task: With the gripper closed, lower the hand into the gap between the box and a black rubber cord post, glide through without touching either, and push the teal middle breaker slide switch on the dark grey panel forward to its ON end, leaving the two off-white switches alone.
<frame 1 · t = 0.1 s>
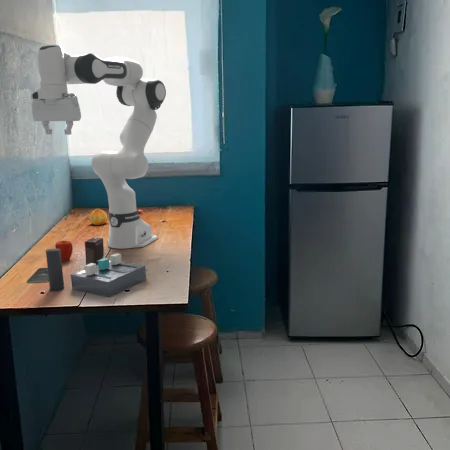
hand: (58, 134, 187), 48 cm above the table, fingers open, 8 cm apart
smartphone: (43, 276, 188), on the table
box: (96, 273, 189), on the table
cord post: (57, 288, 174), on the table
panel: (109, 284, 176), on the table
slider 2: (115, 259, 181), point 7 cm above the table, slide at 0.0 cm
fruit: (99, 224, 263), on the table
slider mid: (103, 264, 176), point 7 cm above the table, slide at 0.0 cm
slider 1: (90, 269, 171), point 7 cm above the table, slide at 0.0 cm
apple: (65, 260, 205), on the table
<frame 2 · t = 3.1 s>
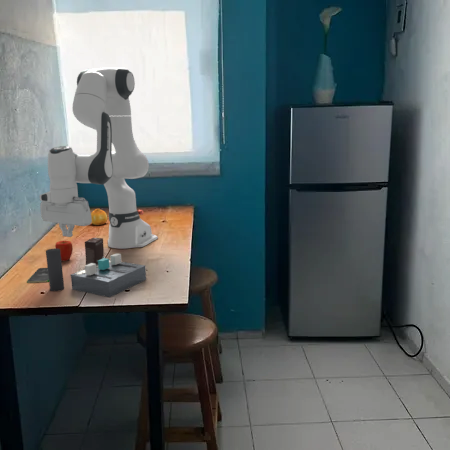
hand: (67, 236, 181), 15 cm above the table, fingers closed
nothing on the table moved.
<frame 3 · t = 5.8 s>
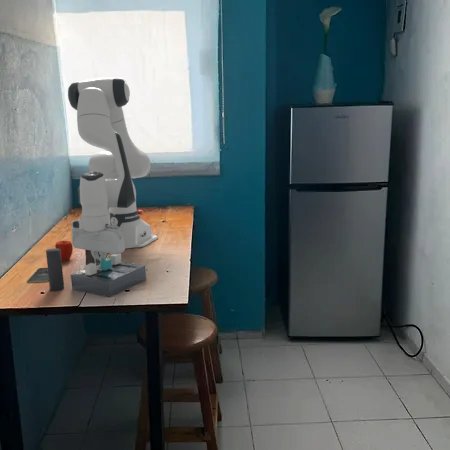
hand: (99, 263, 176), 7 cm above the table, fingers closed
slider mid: (105, 264, 175), point 7 cm above the table, slide at 1.0 cm, touching gripper
everything else where it was.
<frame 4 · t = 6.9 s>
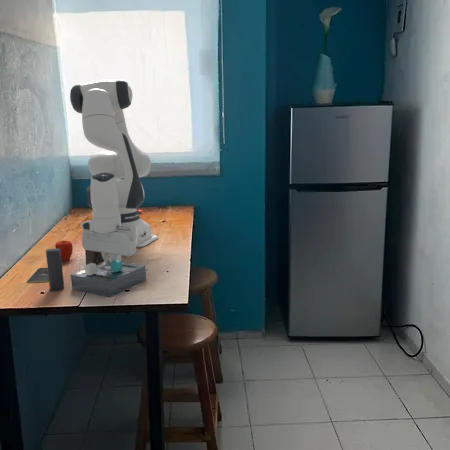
hand: (110, 265, 174), 7 cm above the table, fingers closed
slider mid: (116, 266, 173), point 7 cm above the table, slide at 5.5 cm, touching gripper
everything else where it was.
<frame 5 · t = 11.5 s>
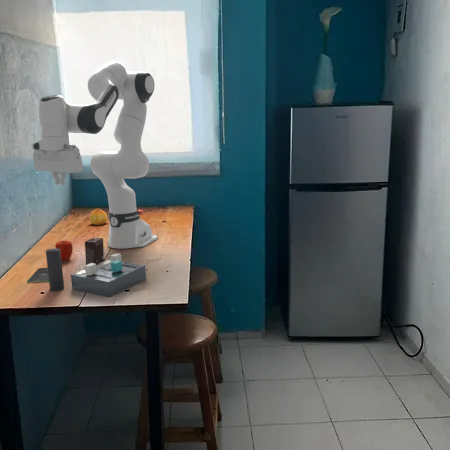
hand: (60, 184, 185), 31 cm above the table, fingers closed
slider mid: (116, 266, 173), point 7 cm above the table, slide at 5.5 cm
everything else where it was.
at the end: slider mid slide at 5.5 cm; box moved 0.2 cm from its start; cord post moved 0.0 cm from its start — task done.
